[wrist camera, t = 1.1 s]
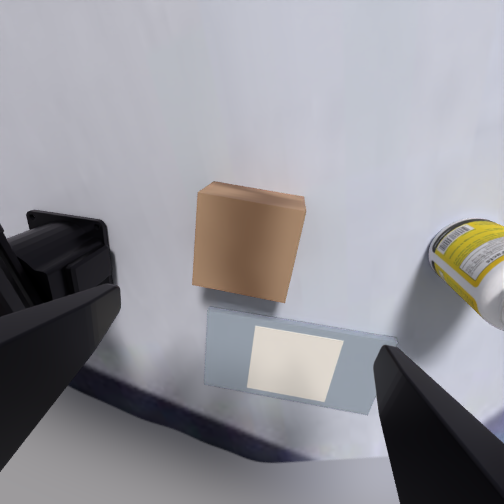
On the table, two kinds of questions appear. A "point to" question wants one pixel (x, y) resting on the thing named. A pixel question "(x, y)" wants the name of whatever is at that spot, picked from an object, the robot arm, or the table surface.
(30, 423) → the robot arm
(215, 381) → the board
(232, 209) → the block
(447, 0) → the table surface
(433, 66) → the table surface
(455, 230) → the supplement bottle
